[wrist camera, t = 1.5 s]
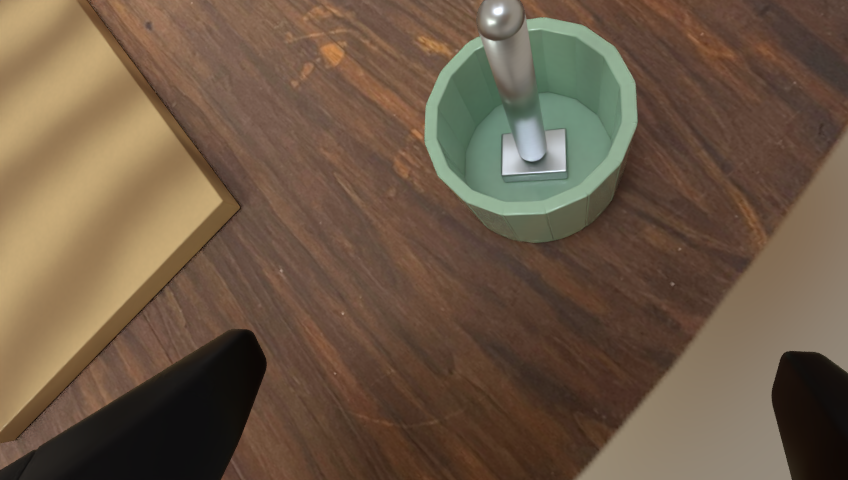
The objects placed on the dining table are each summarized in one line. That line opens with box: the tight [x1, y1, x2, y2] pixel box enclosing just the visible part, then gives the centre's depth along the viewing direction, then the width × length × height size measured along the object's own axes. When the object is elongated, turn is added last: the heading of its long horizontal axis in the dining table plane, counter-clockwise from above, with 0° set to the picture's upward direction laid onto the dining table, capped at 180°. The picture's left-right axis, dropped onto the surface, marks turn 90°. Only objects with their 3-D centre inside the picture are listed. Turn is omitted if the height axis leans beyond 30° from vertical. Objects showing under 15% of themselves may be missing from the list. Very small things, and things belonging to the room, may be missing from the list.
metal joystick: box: [476, 0, 568, 182], centre depth 17 cm, size 3×2×11 cm
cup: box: [424, 17, 638, 243], centre depth 20 cm, size 7×7×6 cm
